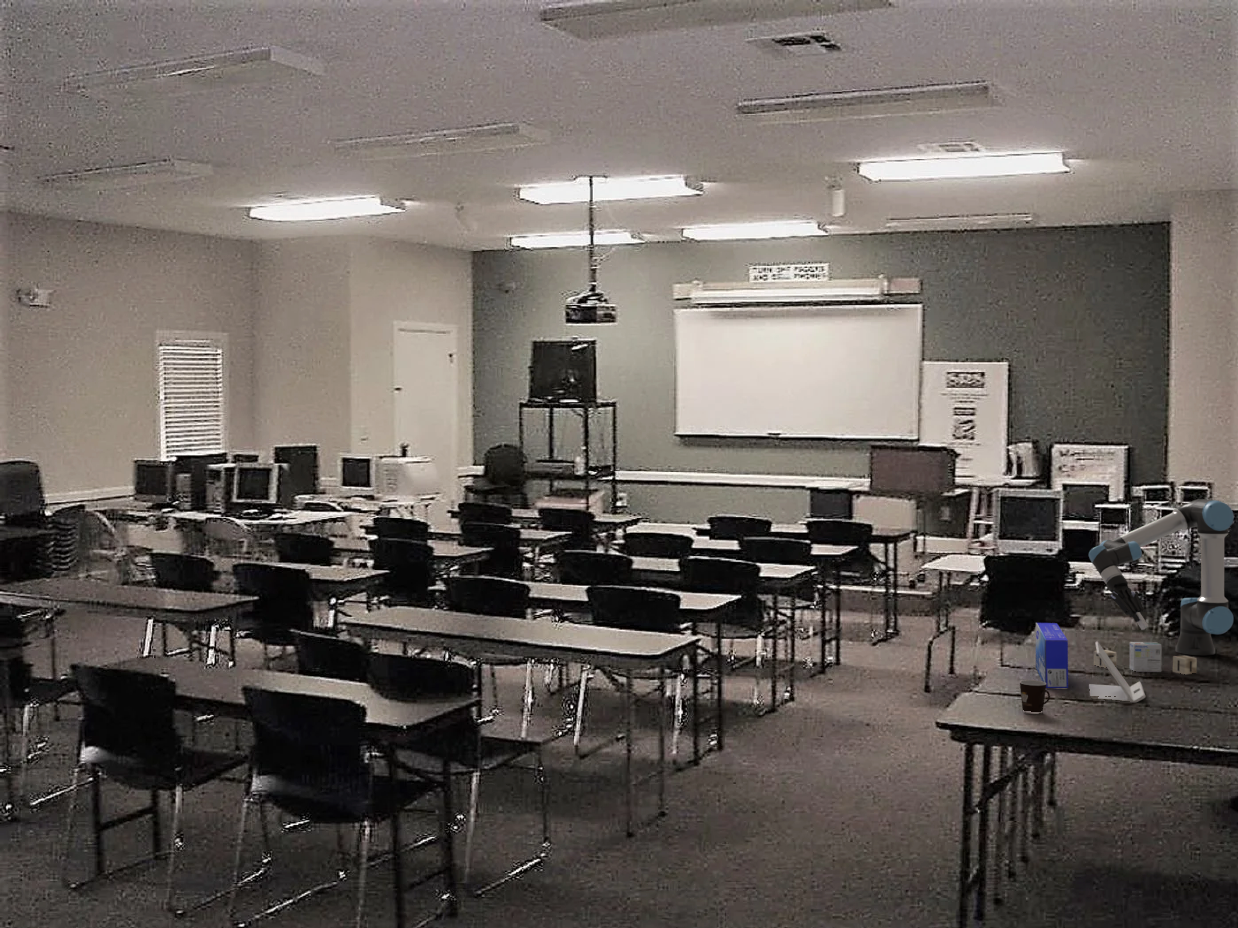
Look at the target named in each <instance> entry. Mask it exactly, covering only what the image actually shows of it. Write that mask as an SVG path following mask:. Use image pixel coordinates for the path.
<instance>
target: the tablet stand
mask: <svg viewBox="0 0 1238 928" xmlns="http://www.w3.org/2000/svg"><path fill="white" fill-rule="evenodd" d="M1095 648H1096V651H1097V654H1098V655H1099V657H1100V658H1101V660H1102V661H1103V663H1104V664H1105V665H1106V667H1107V668H1106V669H1107V670H1108V671H1109V673H1110V674H1111V675H1112V677H1113V679H1114V680H1115V681H1116V682H1117V684H1118V685H1108V684H1093V683H1089V684H1088V690H1089V689H1090V691H1089V697H1090V696H1099V697H1098V699H1112V700H1122V701H1130V702H1129V703H1138V702H1140V701H1142V700H1144V699H1145V698H1146V697H1147V696H1146V694H1145V690H1144V687H1143V684H1142V682H1141V681H1138V682H1136V683H1134V684H1132V685H1131V686H1130V685H1129V684H1128V682H1127V681H1126V679H1125V678H1124V677H1123V675H1122V674H1121V673H1120V671H1119V670H1118V668H1117V666H1116V667H1115V665H1114V664H1113V662H1112V661H1111V660H1110V658H1109V657H1108V655H1107V654H1106V653H1105V651H1104V650H1105V649H1104V648H1103V647H1102V645H1101V644H1100V642H1099V641H1098V640H1097V641H1095ZM1105 696H1107V697H1105ZM1108 696H1111V697H1108ZM1114 696H1116V697H1114Z"/></svg>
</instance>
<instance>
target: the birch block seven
mask: <svg viewBox="0 0 1238 928" xmlns="http://www.w3.org/2000/svg"><path fill="white" fill-rule="evenodd" d="M1103 650H1104V651H1105V653H1106V654H1107V655H1108V657H1109V658H1110V660H1111V661H1112V662H1113V664H1114V665H1115V666H1116V667H1117V651H1112V650H1108V649H1103ZM1094 665H1096V666H1095V667H1097V666H1099V667H1098V668H1101V667H1104V668H1103V669H1107V668H1106V665H1105V664H1104V663H1103V661H1102V660H1101V658H1100V657H1099V655H1098V654H1097V650H1093V666H1094Z"/></svg>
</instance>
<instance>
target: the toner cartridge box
mask: <svg viewBox="0 0 1238 928" xmlns="http://www.w3.org/2000/svg"><path fill="white" fill-rule="evenodd" d="M1035 669H1036V671H1037V672H1038V675H1039V677H1040V681H1043V682H1045V683H1047V684H1046V688H1068V689H1069V640H1068V638H1067V637H1066V635H1065V634H1064V632H1063V631H1062V629H1061V628H1060V626H1059V624H1058V623H1055V622H1052V623H1051V622H1035Z"/></svg>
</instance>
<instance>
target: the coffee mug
mask: <svg viewBox="0 0 1238 928" xmlns="http://www.w3.org/2000/svg"><path fill="white" fill-rule="evenodd" d="M1046 684H1047V683H1045V682H1042V680H1033V679H1032V680H1031V679H1027V680H1026V679H1025V680H1020V681H1019V688H1020V689H1019V690H1020V697H1021V699H1020V701H1021V707H1022V711H1023V710H1024V711H1031V712H1041V711H1043V712H1044V706H1045V705H1046V704H1047V703H1048V702H1050V699H1051V694H1050V692H1049V691H1048V689H1046ZM1046 694H1047V699H1046V701H1045V698H1046Z"/></svg>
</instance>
